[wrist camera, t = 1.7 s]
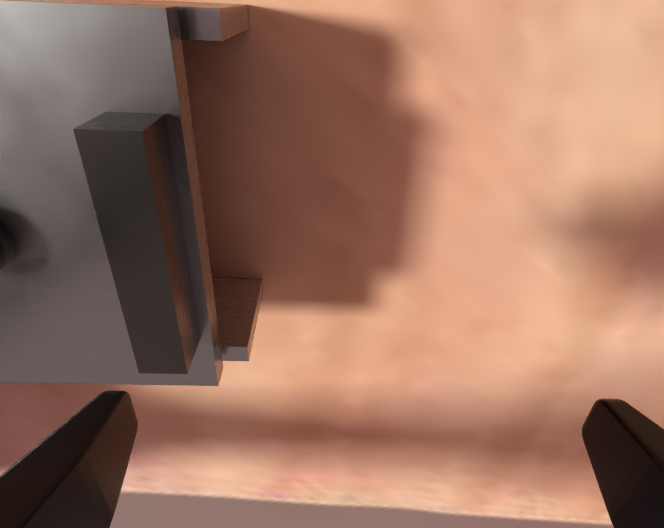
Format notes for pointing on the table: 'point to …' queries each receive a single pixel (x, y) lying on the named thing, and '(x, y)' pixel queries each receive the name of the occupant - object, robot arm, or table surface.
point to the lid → (100, 201)
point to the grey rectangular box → (230, 294)
